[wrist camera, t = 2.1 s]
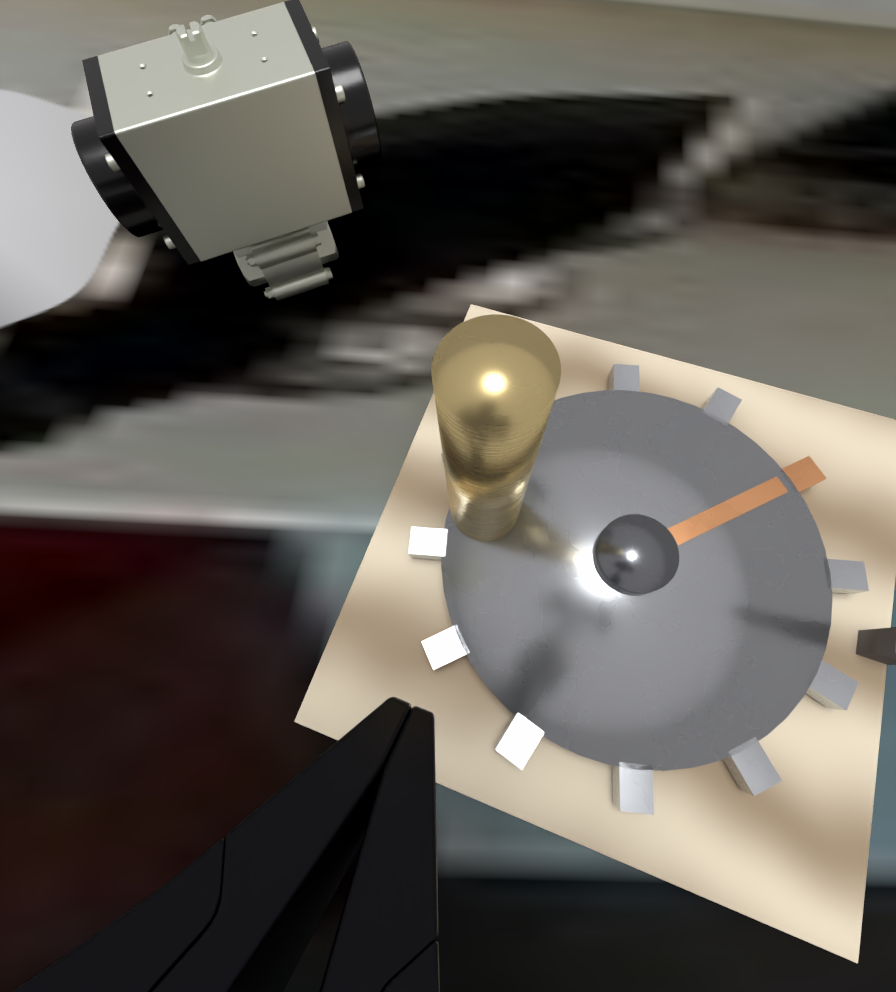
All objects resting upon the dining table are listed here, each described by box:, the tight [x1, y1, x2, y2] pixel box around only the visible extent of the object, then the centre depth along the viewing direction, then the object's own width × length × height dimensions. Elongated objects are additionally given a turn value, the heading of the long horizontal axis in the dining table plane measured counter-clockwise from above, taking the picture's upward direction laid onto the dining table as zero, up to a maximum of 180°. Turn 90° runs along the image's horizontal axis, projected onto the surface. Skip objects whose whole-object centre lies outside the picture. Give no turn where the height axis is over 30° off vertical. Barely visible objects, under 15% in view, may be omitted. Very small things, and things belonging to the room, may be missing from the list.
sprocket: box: [408, 314, 869, 815], centre depth 16 cm, size 18×18×12 cm
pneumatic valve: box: [71, 0, 381, 301], centre depth 24 cm, size 6×12×12 cm, turn 111°
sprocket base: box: [294, 304, 896, 963], centre depth 22 cm, size 22×22×3 cm
